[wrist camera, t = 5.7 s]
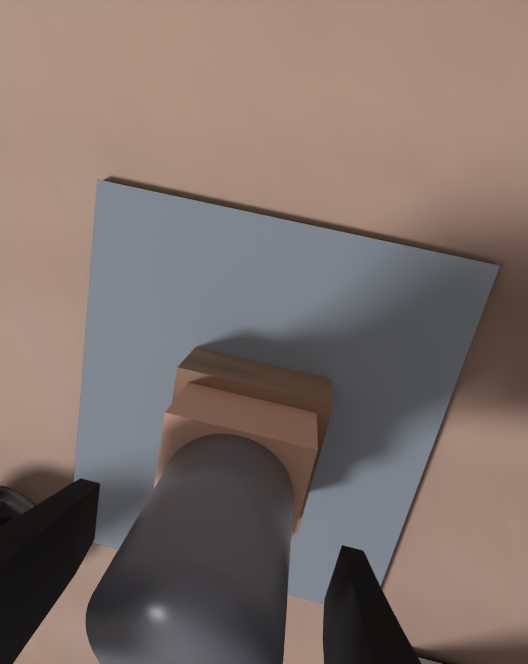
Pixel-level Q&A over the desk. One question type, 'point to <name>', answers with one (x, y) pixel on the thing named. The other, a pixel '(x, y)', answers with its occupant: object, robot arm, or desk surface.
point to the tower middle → (243, 431)
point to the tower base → (261, 387)
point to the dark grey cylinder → (202, 563)
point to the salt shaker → (12, 505)
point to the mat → (273, 355)
